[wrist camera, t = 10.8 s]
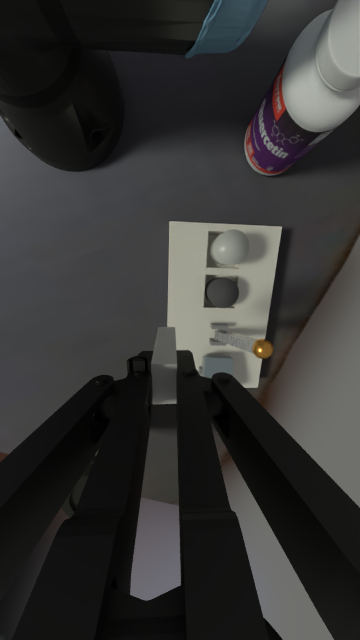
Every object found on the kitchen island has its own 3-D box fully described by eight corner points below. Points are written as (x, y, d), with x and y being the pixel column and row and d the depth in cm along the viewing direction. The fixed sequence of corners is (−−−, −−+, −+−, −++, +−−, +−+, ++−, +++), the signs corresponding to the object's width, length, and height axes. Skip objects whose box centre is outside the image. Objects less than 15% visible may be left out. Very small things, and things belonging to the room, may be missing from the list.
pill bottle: (231, 137, 28) (291, 4, 14) (281, 97, 27) (399, -89, 13) (259, 191, 30) (337, 122, 16) (307, 155, 29) (435, 48, 15)
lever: (213, 327, 30) (268, 344, 24) (224, 324, 32) (278, 340, 25) (212, 343, 31) (265, 364, 24) (222, 340, 32) (275, 358, 26)
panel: (169, 225, 30) (169, 218, 26) (271, 230, 31) (288, 224, 27) (166, 377, 37) (165, 392, 32) (251, 378, 37) (261, 393, 33)
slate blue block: (202, 355, 32) (204, 358, 30) (229, 356, 32) (233, 358, 30) (201, 392, 32) (203, 398, 30) (228, 393, 32) (232, 398, 30)
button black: (206, 276, 31) (210, 277, 27) (232, 277, 31) (240, 279, 28) (204, 303, 32) (208, 307, 28) (229, 303, 32) (237, 308, 29)
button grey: (211, 234, 28) (217, 228, 24) (240, 235, 28) (251, 230, 24) (208, 264, 29) (214, 264, 25) (237, 265, 29) (246, 265, 25)
